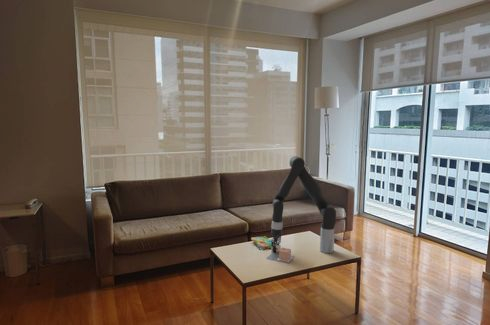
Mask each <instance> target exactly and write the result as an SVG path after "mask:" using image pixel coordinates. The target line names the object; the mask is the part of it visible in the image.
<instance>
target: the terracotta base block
mask: <svg viewBox="0 0 490 325" xmlns="http://www.w3.org/2000/svg"><path fill="white" fill-rule="evenodd" d="M291 252H292V249H291V248H286V247H281V249H280V250H279V252H278V253H279V259H281V260H286V261H288V260H289V259H290V258H291V256H292V255H291Z"/></svg>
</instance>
